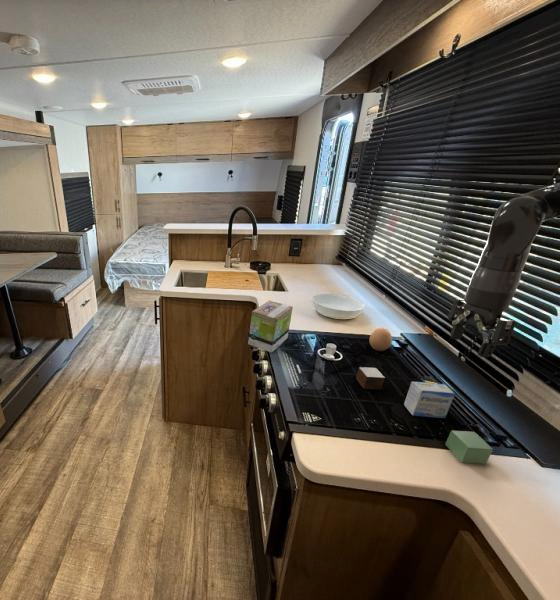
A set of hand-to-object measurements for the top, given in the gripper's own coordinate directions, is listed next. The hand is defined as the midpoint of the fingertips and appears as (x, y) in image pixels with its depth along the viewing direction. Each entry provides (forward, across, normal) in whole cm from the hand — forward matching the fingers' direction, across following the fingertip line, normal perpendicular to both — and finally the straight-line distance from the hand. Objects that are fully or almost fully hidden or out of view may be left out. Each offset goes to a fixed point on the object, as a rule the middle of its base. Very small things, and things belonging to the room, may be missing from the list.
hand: (468, 347), depth 77 cm
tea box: (+20, +35, +40) cm, 57 cm away
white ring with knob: (+20, +27, +22) cm, 41 cm away
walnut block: (+20, +10, +15) cm, 27 cm away
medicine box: (+21, -1, +6) cm, 21 cm away
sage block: (+20, -15, +6) cm, 26 cm away
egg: (+20, +32, 0) cm, 38 cm away
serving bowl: (+20, +63, +3) cm, 66 cm away
